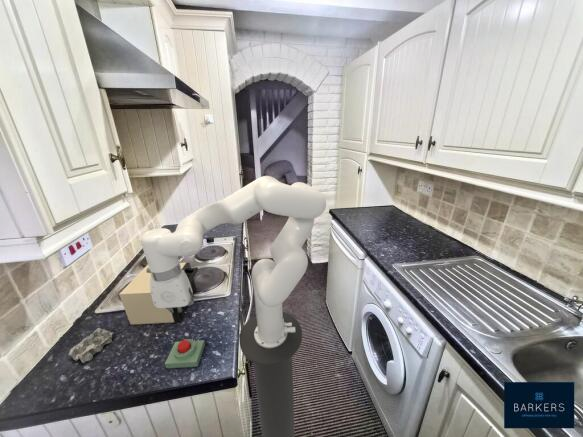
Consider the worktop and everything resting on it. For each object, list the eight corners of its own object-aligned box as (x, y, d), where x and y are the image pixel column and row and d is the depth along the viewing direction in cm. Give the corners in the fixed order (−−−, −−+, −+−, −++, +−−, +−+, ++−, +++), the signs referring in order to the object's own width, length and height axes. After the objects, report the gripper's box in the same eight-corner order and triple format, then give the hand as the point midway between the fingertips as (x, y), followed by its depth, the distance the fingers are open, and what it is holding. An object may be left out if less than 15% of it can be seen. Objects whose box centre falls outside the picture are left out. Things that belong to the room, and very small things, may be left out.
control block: (205, 344, 81) (203, 336, 79) (197, 366, 74) (195, 357, 72) (176, 346, 81) (174, 337, 79) (166, 368, 73) (163, 359, 72)
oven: (192, 289, 109) (186, 262, 104) (174, 322, 91) (165, 291, 85) (156, 291, 109) (147, 264, 103) (130, 324, 90) (118, 294, 84)
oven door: (205, 288, 109) (199, 262, 104) (189, 321, 91) (181, 291, 85) (192, 289, 109) (186, 262, 104) (174, 322, 91) (165, 292, 85)
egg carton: (85, 365, 75) (80, 356, 73) (69, 359, 77) (64, 350, 75) (116, 338, 84) (113, 330, 83) (102, 333, 86) (98, 325, 85)
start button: (192, 343, 77) (191, 339, 77) (188, 353, 74) (187, 349, 73) (181, 343, 77) (180, 340, 77) (176, 353, 74) (175, 349, 73)
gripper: (132, 280, 62) (150, 330, 68) (188, 277, 62) (200, 327, 69) (146, 264, 69) (162, 312, 75) (197, 261, 69) (208, 308, 76)
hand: (180, 319), depth 72 cm, fingers closed
